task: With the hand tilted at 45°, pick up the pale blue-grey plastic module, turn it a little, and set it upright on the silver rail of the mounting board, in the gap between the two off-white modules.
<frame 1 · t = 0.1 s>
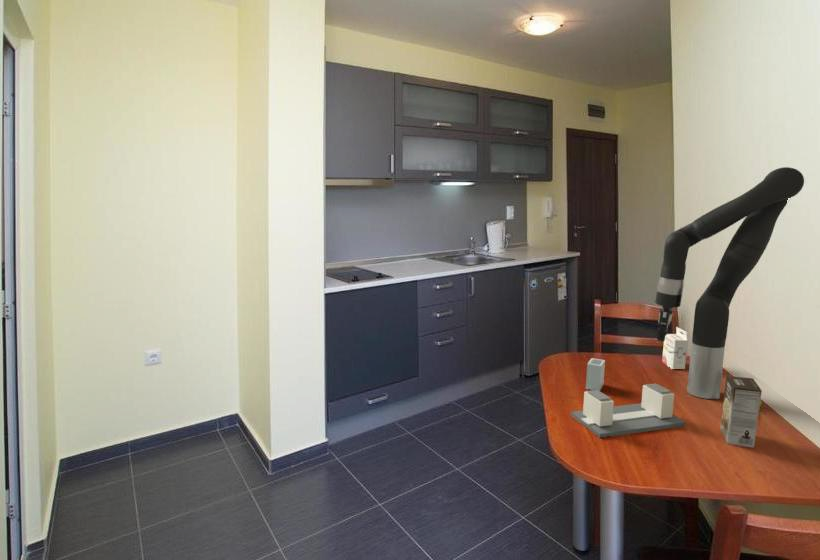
hand: (661, 337, 164), 17 cm above the table, tool pointing down, fingers open, 8 cm apart
module 2: (655, 416, 144), resting on mounting board
mounting board: (626, 420, 141), on the table
coffee box: (736, 439, 131), on the table
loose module: (594, 386, 167), on the table
ink cartridge box: (672, 366, 187), on the table
module 1: (596, 424, 139), resting on mounting board
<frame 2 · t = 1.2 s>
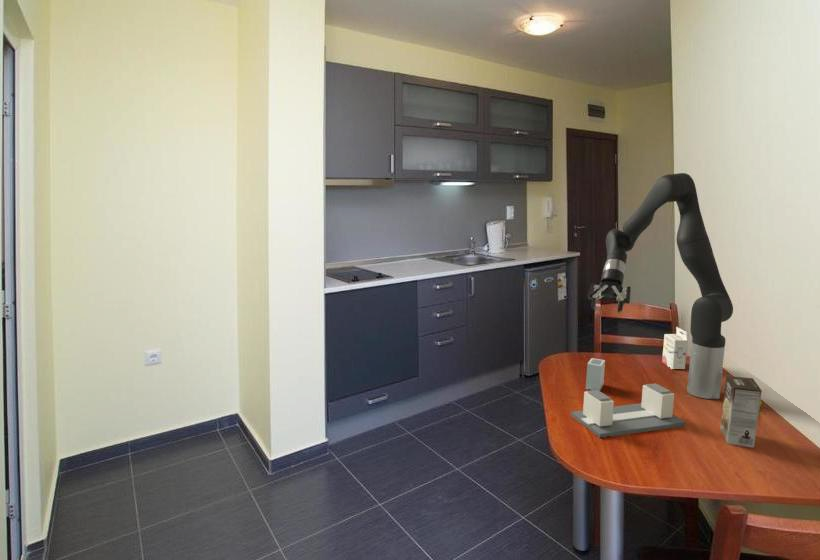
hand: (606, 309, 174), 24 cm above the table, tool tilted 45°, fingers open, 8 cm apart
nothing on the table moved.
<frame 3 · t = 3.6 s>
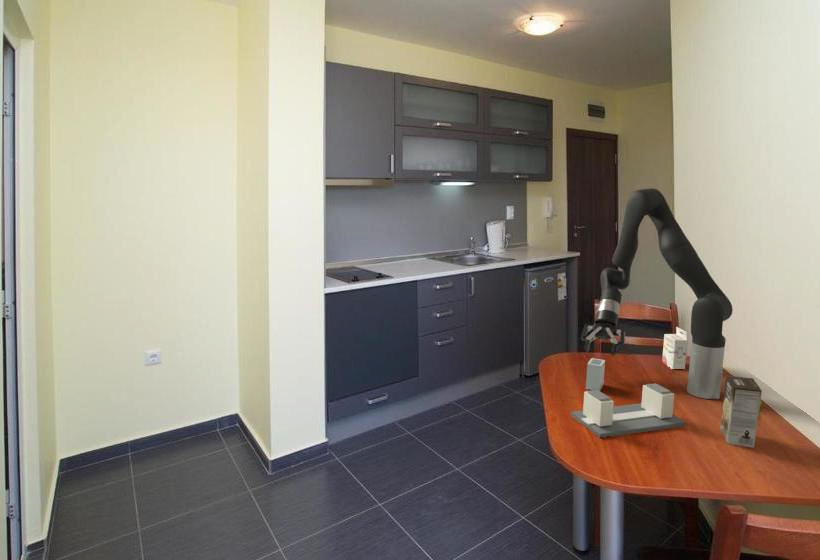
hand: (599, 352, 170), 10 cm above the table, tool tilted 45°, fingers open, 8 cm apart
nothing on the table moved.
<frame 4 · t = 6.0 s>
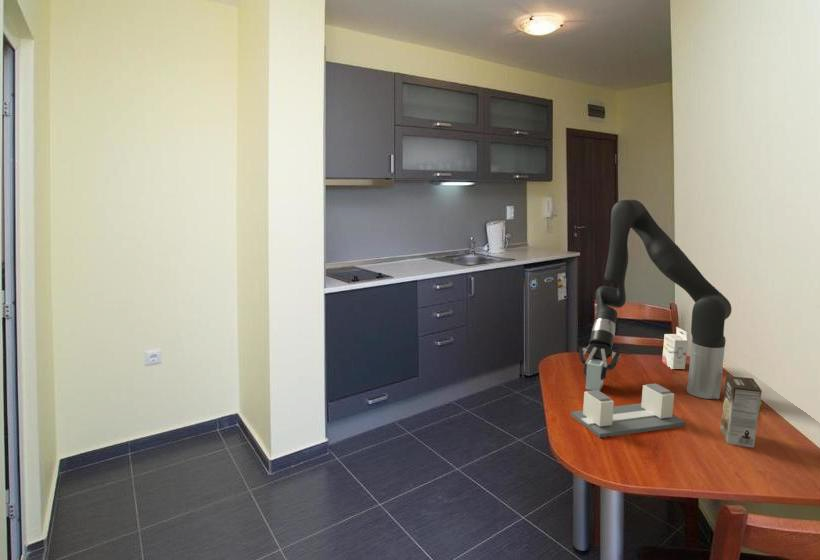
hand: (594, 377, 164), 4 cm above the table, tool tilted 45°, fingers closed on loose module, 4 cm apart
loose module: (594, 386, 167), on the table, touching gripper
everything else where it was.
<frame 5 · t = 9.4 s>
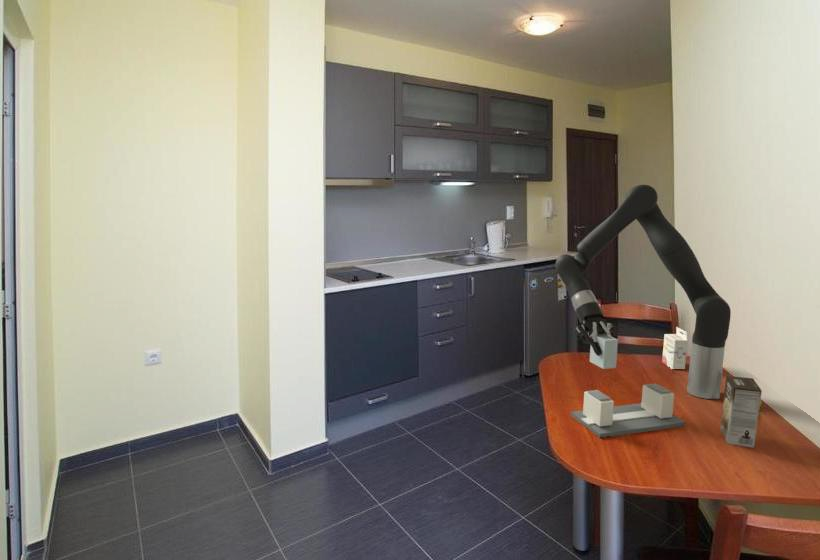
hand: (607, 353, 149), 17 cm above the table, tool tilted 45°, fingers closed on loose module, 4 cm apart
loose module: (602, 364, 151), point 13 cm above the table, touching gripper
everything else where it was.
when the fingers open (7 cm above the table, at t = 12.7 s): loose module drops 1 cm, resting on mounting board.
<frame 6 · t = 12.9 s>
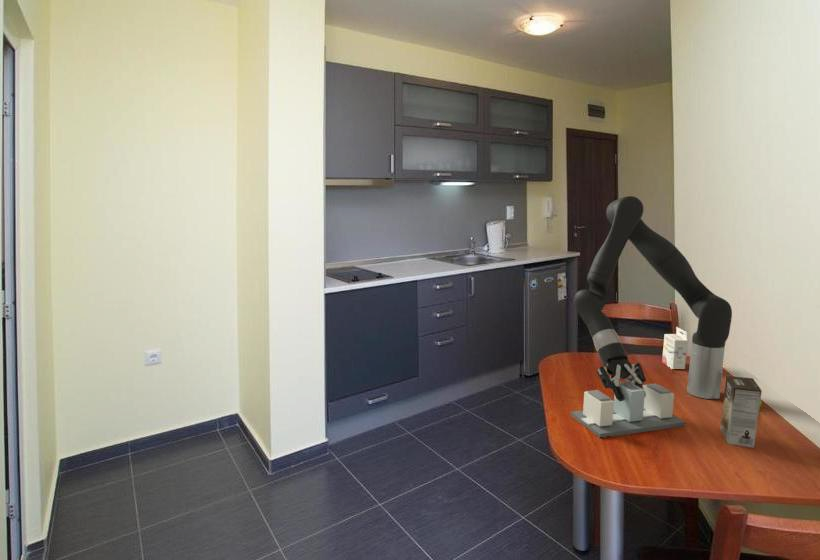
hand: (632, 399, 138), 7 cm above the table, tool tilted 45°, fingers open, 6 cm apart
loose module: (627, 415, 141), point 2 cm above the table, touching mounting board
everything else where it was.
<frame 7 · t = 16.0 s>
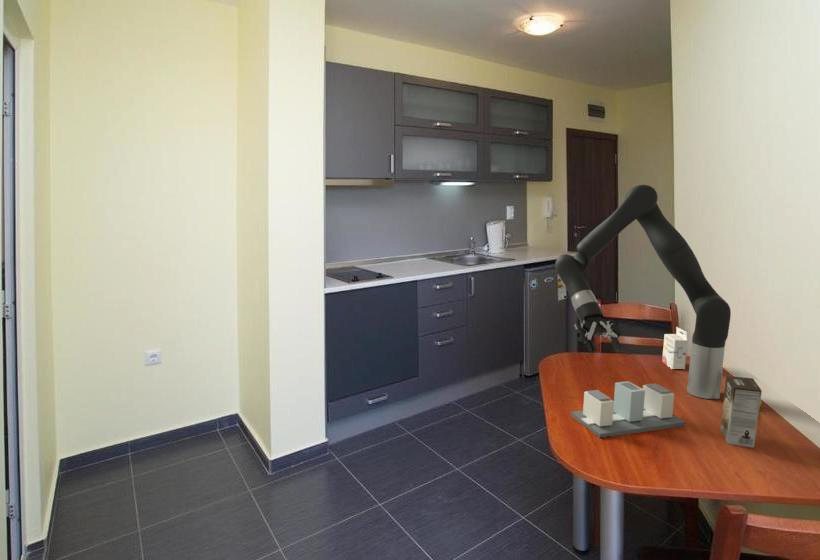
hand: (606, 351, 149), 18 cm above the table, tool tilted 45°, fingers open, 8 cm apart
nothing on the table moved.
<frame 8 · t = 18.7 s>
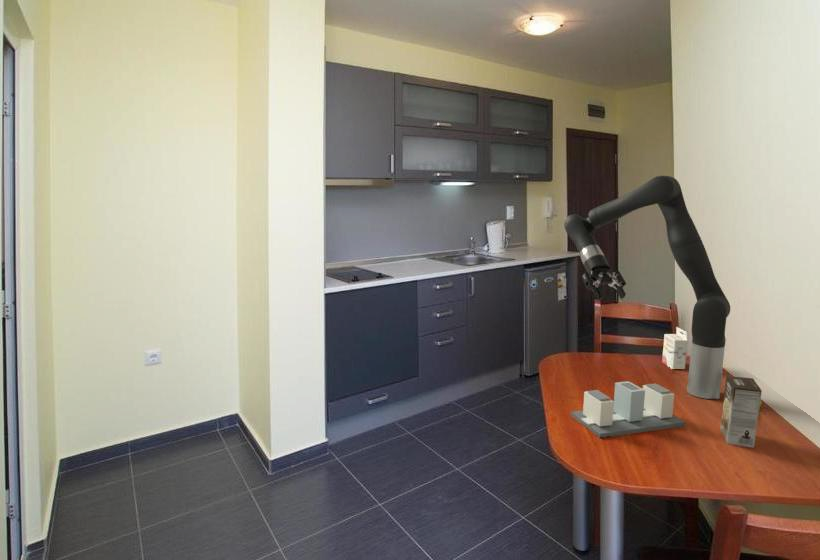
hand: (612, 298, 164), 31 cm above the table, tool tilted 45°, fingers open, 8 cm apart
nothing on the table moved.
at the end: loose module 0.1 cm off-centre on the mounting board, point 1.6 cm above the mounting board's base; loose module tilted 0°; the gripper is holding nothing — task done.
